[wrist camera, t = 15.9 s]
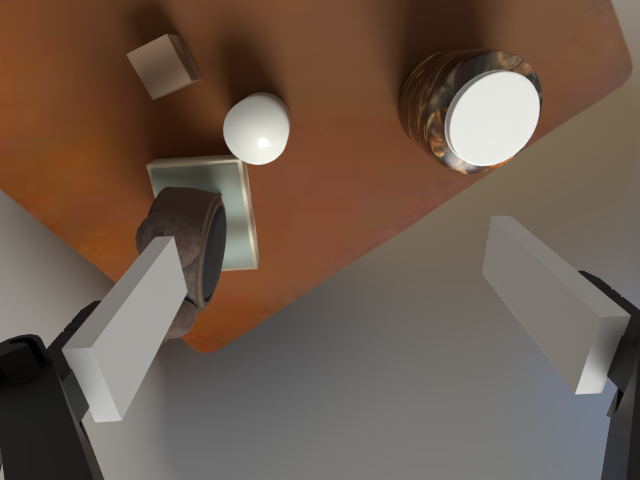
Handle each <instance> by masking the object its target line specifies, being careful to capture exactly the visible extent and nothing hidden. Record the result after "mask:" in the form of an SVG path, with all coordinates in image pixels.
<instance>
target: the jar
mask: <svg viewBox="0 0 640 480" xmlns="http://www.w3.org/2000/svg"><path fill="white" fill-rule="evenodd" d="M541 108H542V91H541V86H540V82H539V79H538V77H537V75H536V73H535V71H534V70H533V68H532V67H531V66H530V65H529V64H528V63H527V62H526V61H525V60H524V59H522V58H521V57H519V56H517V55H515V54H512V53H509V52H506V51H500V50H492V49H452V50H444V51H441V52H438V53H435V54H433V55H431V56H429V57H427V58H426V59H425V60H423V61H422V62H421V63H419V64H418V65H417V66H416V67H415V69H414V70H413V71H412V72H411V73H410V75H409V76H408V78H407V80H406V81H405V84H404V86H403V88H402V91H401V94H400V99H399V118H400V122H401V125H402V127H403V129H404V131H405V133H406V134H407V136H408V137H409V138H410V139H411V140H412V141H413V142H414V143H415V144H416V145H417V146H418V147H419V148H421V149H422V150H423V151H424V152H425V153H426V154H428V155H429V156H430V157H431V158H432V159H434V160H435V161H436V162H438V163H439V164H441V165H442V166H444V167H445V168H447V169H449V170H452V171H455V172H458V173H463V174H478V173H483V172H487V171H490V170H493V169H495V168H497V167H499V166H501V165H503V164H505V163H506V162H508V161H509V160H510V159H512V158H513V157H514V156H515V155H516V154H517V153H519V151H520V150H521V149H522V148H523V147H524V146H525V145H526V143H527V142H528V141H529V139H530V137H531V136H532V134H533V132H534V130H535V128H536V126H537V123H538V121H539V117H540V113H541Z"/></svg>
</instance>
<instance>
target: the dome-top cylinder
mask: <svg viewBox="0 0 640 480" xmlns="http://www.w3.org/2000/svg"><path fill="white" fill-rule="evenodd" d="M290 127H291V117H290V113H289V110H288V108H287V106H286V105H285V103H284V102H283V101H282V100H281V99H280V98H278V97H277V96H275V95H273V94H270V93H266V92H258V93H254V94H251V95H249V96H248V97H246V98H245V99H243V100H242V101H240V102H239V103H238V104H236V105H235V106H234V107H233V108H232V109H231V110H230V111H229V112H228V114H227V116H226V118H225V121H224V127H223V132H224V138H225V141H226V144H227V146H228V148H229V149H230V151H231V152H232V153H233V154H234V155H235V156H236V157H237V158H239V159H240V160H242V161H244V162H247V163H250V164H258V165H260V164H266V163H269V162H271V161H273V160H275V159H276V158H277V157H278V156H279V155H280V154H281V153H282V151H283V150H284V148H285V146H286V143H287V139H288V135H289V131H290Z"/></svg>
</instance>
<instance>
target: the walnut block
mask: <svg viewBox="0 0 640 480" xmlns="http://www.w3.org/2000/svg"><path fill="white" fill-rule="evenodd" d="M126 55H127V56H128V58H129V60H130V62H131V63H132V65H133V67H134V69H135V70H136V72H137V74H138V75H139V77H140V79H141V81H142V82H143V84H144V86H145V87H146V89H147V91H148V93H149V94H150V96H151V98H152V100H154V99H157V98H160V97H163V96H167V95H169V94H171V93H173V92H175V91H177V90H179V89H182V88H184V87H186V86H188V85H190V84H192V83H194V82H196V81H198V80H200V79H203V78H202V76H201V74H200V72H199V70H198V69H197V67H196V65H195V63H194V61H193V59H192V57H191V55H190V53H189V51H188V49H187V47H186V45H185V43H184V41H183V39H182V37H181V36H180V35H171V34H165V35H163V36H161V37H159V38H157V39H155V40H154V41H152V42H150V43H148V44H146V45H144V46H142V47H140V48H138V49H136V50H134V51H132V52H130V53H128V54H126Z"/></svg>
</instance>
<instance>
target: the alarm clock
mask: <svg viewBox="0 0 640 480" xmlns="http://www.w3.org/2000/svg"><path fill="white" fill-rule="evenodd" d="M221 197H222V194H221V193H217V194H216V193H213V192H209V191H205V190H201V189H196V188H189V187H170V186H168V187H165V188H163V189H162V190H161V191H160V192H159V194H158V195H157V197H156V198H155V200H154V202H153V204H152V206H151V209H150V211H149V214H148V217H147V218H146V219H144V220H143V222H142V223H141V225H140V226H139V228H138V230H137V234H136V247H137V250H138V252H139V256H140V255H141V253H142V252H143V251H144V250H145V249H146V247H147V246H148V245H149V244H150V243H151V241H152V240H153V239H154V238H155V237H164V236H174V239H175V243H176V247H177V251H178V255H179V259H180V263H181V267H182V271H183V275H184V279H185V283H186V287H187V291H188V292H187V294H186V296H185V298H184V300H183V302H182V304H181V306H180V308H179V310H178V311H177V313H176V315H175V317H174V319H173V321H172V323H171V325H170V327H169V329H168V331H167V333H166V335H165V337H164V339H163V341H162V343H161V345H162V344H164V341H168V340H167V339H172V338H178V337H181V336H183V335H185V334H186V333H188V332H189V331H190V330H191V328H192V327H193V325H194V323H195V321H196V319H197V316H198V313H201V312H203V311H204V310H205V308H206V307H207V306H208V305H209V303H210V302H211V300H212V298H213V295H214V292H215V289H216V285H217V282H218V279H219V276H220V273H221V269H222V264H223V259H224V253H225V246H226V235H227V222H226V213H225V206H224V203H223V201H222V198H221ZM161 345H160V346H161Z"/></svg>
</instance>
